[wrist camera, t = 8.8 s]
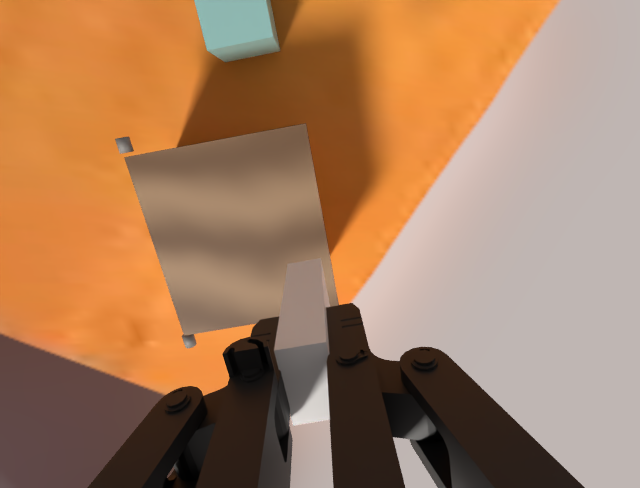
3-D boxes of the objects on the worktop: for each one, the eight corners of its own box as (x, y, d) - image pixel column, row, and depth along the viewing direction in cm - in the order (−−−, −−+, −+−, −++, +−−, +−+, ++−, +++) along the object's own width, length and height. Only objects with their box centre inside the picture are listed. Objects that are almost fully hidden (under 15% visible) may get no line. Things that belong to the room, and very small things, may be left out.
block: (210, -2, 32) (187, -29, 26) (267, -14, 32) (257, -44, 26) (225, 62, 33) (206, 50, 28) (280, 51, 33) (273, 36, 27)
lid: (129, 156, 27) (124, 157, 26) (306, 123, 26) (305, 123, 26) (187, 330, 31) (184, 335, 30) (338, 304, 31) (339, 309, 30)
